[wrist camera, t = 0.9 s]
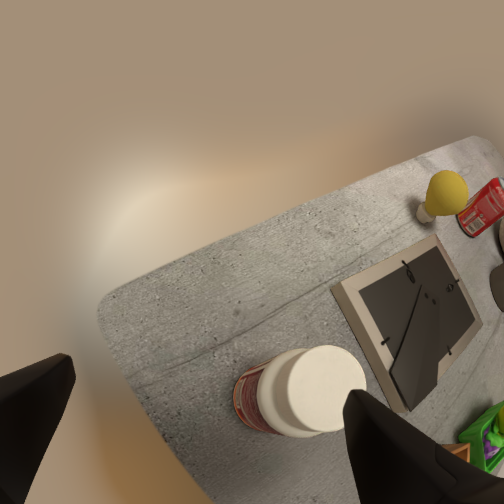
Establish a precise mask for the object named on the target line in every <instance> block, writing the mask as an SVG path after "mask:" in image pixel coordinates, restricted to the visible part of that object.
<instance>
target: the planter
mask: <svg viewBox="0 0 504 504" xmlns="http://www.w3.org/2000/svg"><path fill="white" fill-rule="evenodd" d="M499 238H500V243H501V246H502V249H503V252H504V217H503V219H502V221H501V224H500V229H499Z"/></svg>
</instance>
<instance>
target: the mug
mask: <svg viewBox="0 0 504 504" xmlns="http://www.w3.org/2000/svg"><path fill="white" fill-rule="evenodd" d="M490 283H491V289H492V293H493V296H494V298H495V301H496V303H497V305H498V306H499V308H500V309H501V310H502V311H503V312H504V263H502V264H501V265H500V266H498V267H497V268H495V269H494V270H493V271H492V273H491V276H490Z"/></svg>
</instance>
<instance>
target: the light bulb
mask: <svg viewBox="0 0 504 504" xmlns="http://www.w3.org/2000/svg"><path fill="white" fill-rule="evenodd" d="M468 195H469V193H468V187H467V185H466V182H465V181H464V179H463V178H462V177H461V176H460V175H459V174H457V173H455V172H453V171H449V170H444V171H440V172H438V173H436V174H435V175H434V176H433V177H432V178H431V180H430V183H429V186H428V190H427V193H426V201H425V202H422V203H421V204H420V205H419V207H418V211H417V212H416V217H417V219H418V220H419V221H420V222H421V223H423V224H425V223H426V222H432V221H433V220H434V219H435V218H436V216H448V215H454V214H458V213H460V212H461V211H462V210H463V209H464V208H465V206H466V204H467V202H468Z"/></svg>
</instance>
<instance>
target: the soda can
mask: <svg viewBox="0 0 504 504" xmlns="http://www.w3.org/2000/svg"><path fill="white" fill-rule="evenodd" d="M503 215H504V178H503V177H501V176H499V177H496V178H493V179H492V180H491V181H490V182H489V183H488V184H486V185H485V186H484V187H483V188H482V189H481V190H480V191H479V192H478V193H476V194H475V195H474V196H473V197H472V198H471V199H470V200H469V201H468V202H467V204H466V206H465V208H464V209H463V210H462V211H461V212H460V213H458V221H459V224H460V226H461V227H462V229H463V230H464V231H465V232H466V233H467V234H468V235H470V236H473V237H476V236H478V235H479V234H480V233H482V232H483V231H484V230H486V229H487V228H488V227H489V226H491V225H492V224H493V223H495V222H496V221H497V220H498V219H500V218H501V217H502V216H503Z"/></svg>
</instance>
